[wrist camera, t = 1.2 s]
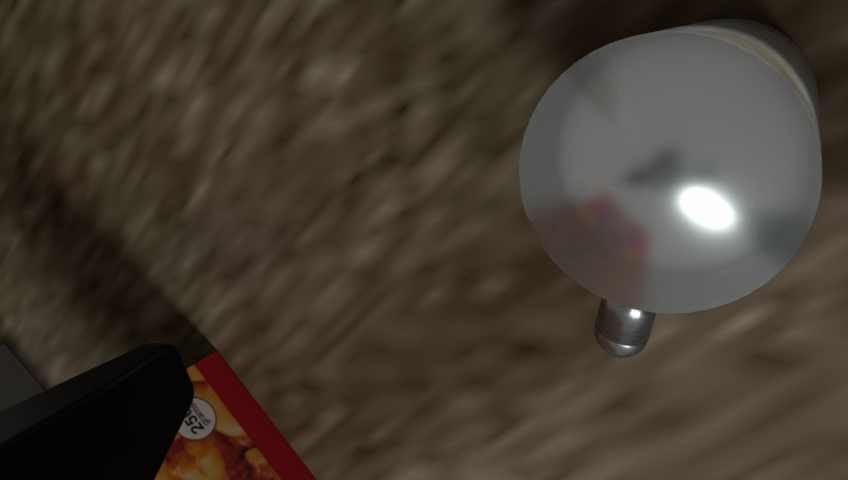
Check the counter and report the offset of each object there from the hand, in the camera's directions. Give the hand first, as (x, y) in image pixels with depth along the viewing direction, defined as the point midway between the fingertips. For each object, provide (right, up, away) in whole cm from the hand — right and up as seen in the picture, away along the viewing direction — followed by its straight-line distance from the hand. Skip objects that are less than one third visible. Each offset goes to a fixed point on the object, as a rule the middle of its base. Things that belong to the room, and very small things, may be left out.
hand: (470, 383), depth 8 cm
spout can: (+8, +6, +11) cm, 14 cm away
